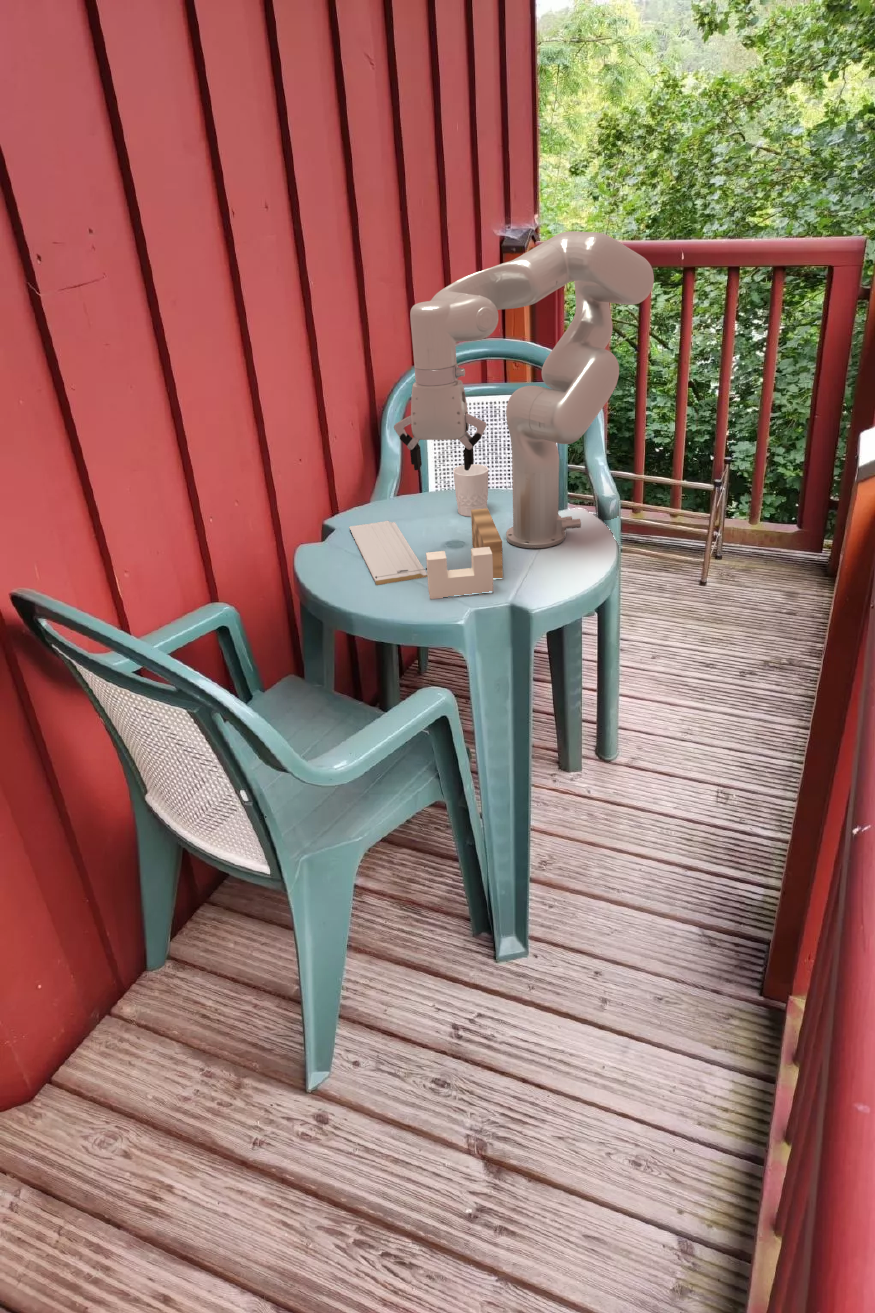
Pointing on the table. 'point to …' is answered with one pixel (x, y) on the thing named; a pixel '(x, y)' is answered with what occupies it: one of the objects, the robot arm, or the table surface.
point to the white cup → (471, 488)
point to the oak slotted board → (487, 538)
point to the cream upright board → (459, 574)
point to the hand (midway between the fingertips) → (442, 468)
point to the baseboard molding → (387, 552)
